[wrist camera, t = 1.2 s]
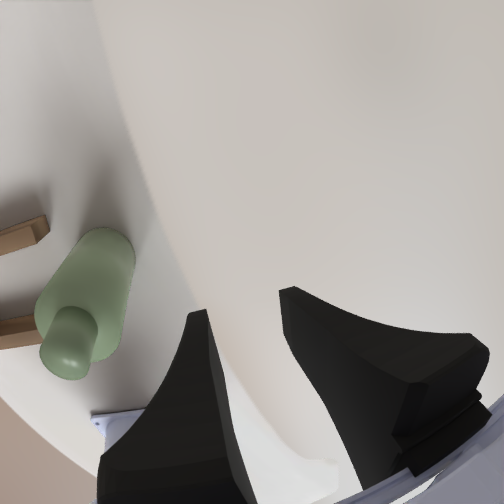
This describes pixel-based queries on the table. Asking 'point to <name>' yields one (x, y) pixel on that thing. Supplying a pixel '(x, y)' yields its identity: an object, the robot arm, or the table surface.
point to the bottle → (85, 304)
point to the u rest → (8, 241)
